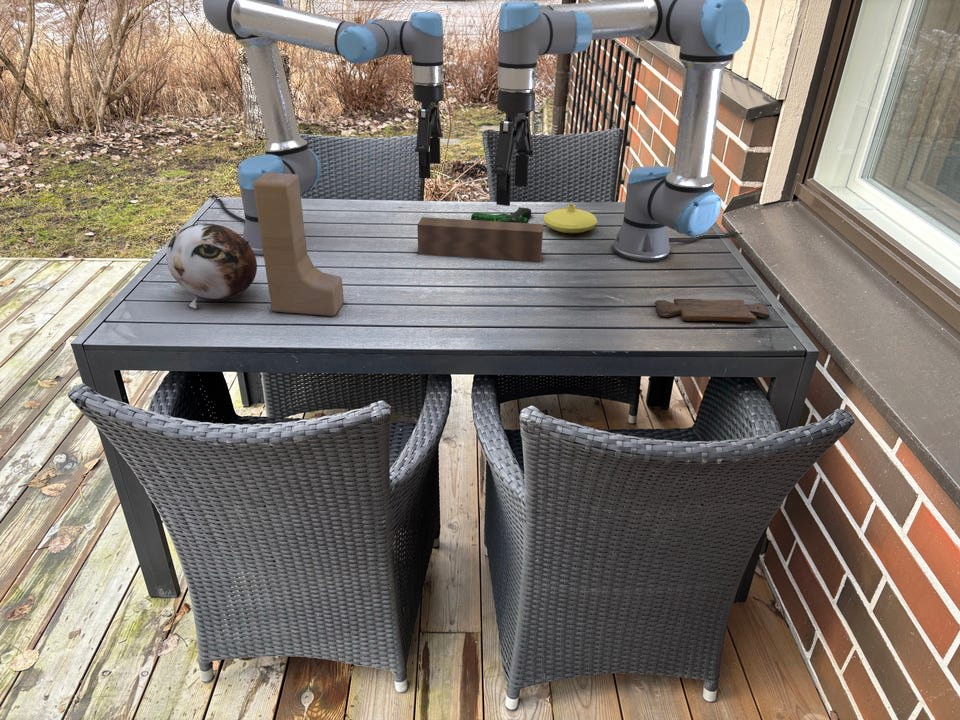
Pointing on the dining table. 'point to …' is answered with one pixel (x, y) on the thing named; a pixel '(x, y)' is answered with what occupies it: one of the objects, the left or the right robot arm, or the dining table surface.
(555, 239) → the dining table surface
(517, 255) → the bar
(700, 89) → the right robot arm
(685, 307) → the wooden paddle board
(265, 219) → the decorative block
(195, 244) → the cat face balloon
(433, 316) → the dining table surface
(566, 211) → the yellow round domed disc
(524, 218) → the handgun
